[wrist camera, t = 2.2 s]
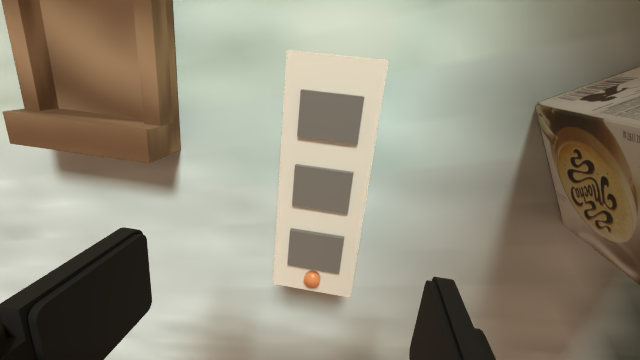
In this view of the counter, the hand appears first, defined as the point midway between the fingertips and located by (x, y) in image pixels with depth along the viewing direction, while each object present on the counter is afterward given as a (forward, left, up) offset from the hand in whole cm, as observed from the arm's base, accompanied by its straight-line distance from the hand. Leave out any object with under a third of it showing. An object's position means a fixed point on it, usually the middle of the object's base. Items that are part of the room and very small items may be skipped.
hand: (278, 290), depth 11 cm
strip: (-1, 0, -14) cm, 14 cm away
